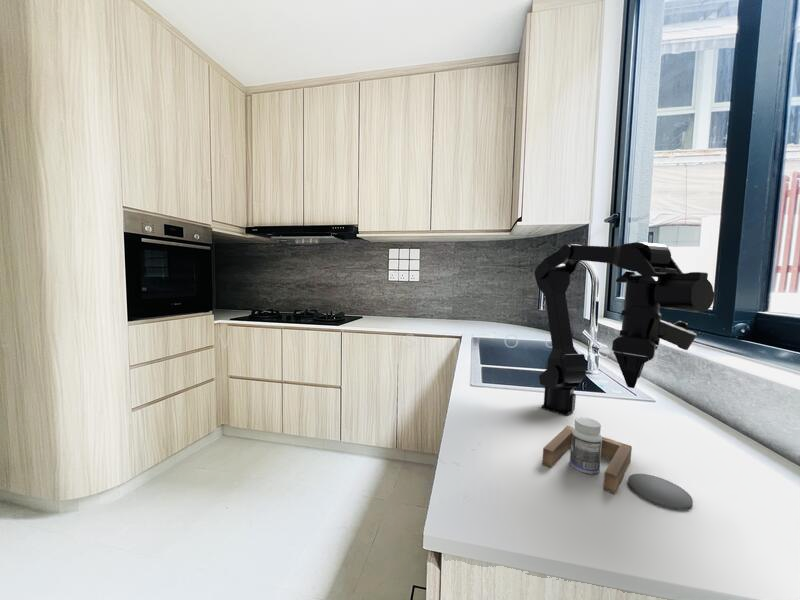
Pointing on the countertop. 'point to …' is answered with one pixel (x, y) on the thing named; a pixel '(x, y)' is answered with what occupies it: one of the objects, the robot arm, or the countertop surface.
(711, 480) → the countertop surface
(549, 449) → the nook
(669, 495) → the coaster
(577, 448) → the pill bottle
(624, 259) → the robot arm
